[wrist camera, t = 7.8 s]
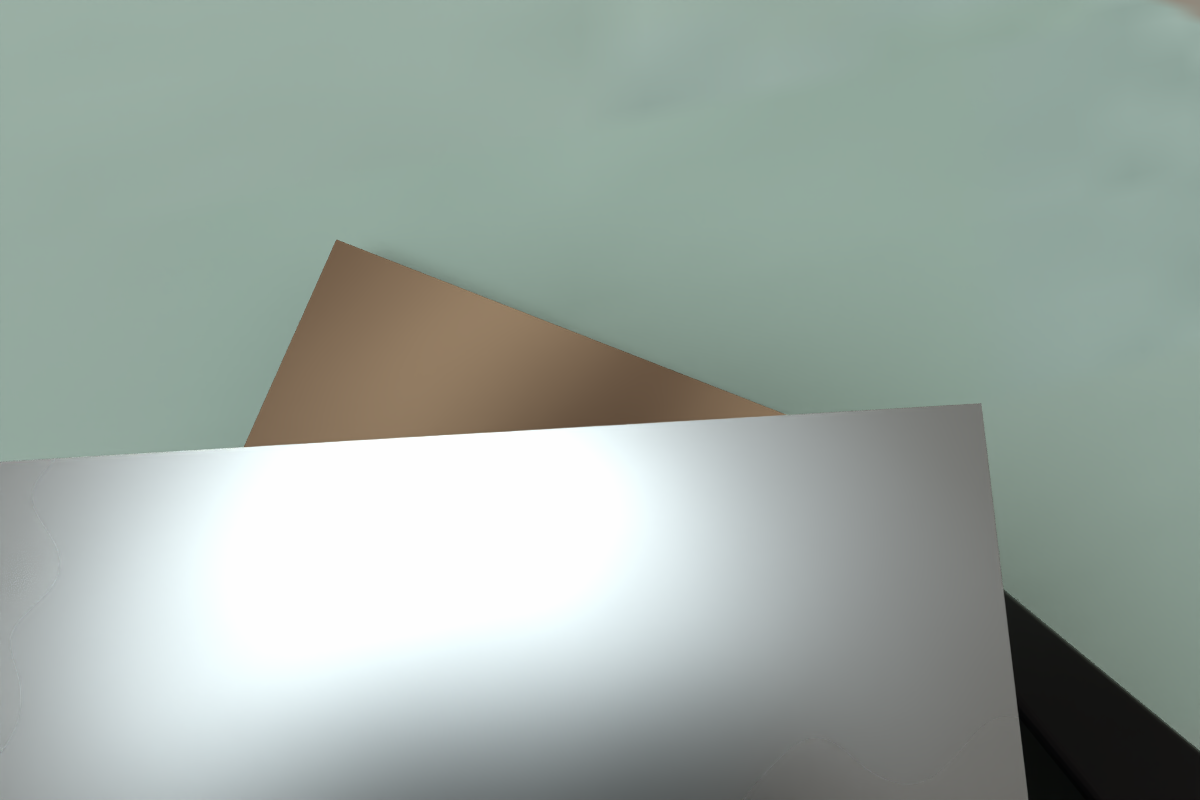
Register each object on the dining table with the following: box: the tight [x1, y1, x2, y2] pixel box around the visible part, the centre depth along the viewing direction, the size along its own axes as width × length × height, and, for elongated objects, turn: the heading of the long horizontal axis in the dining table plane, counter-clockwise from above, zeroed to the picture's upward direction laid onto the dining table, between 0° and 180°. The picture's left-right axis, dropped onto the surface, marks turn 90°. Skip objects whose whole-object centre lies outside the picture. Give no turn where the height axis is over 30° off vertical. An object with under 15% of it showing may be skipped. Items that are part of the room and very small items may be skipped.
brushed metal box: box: [0, 403, 1028, 800], centre depth 10 cm, size 5×5×12 cm
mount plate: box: [244, 240, 786, 447], centre depth 17 cm, size 12×11×2 cm
